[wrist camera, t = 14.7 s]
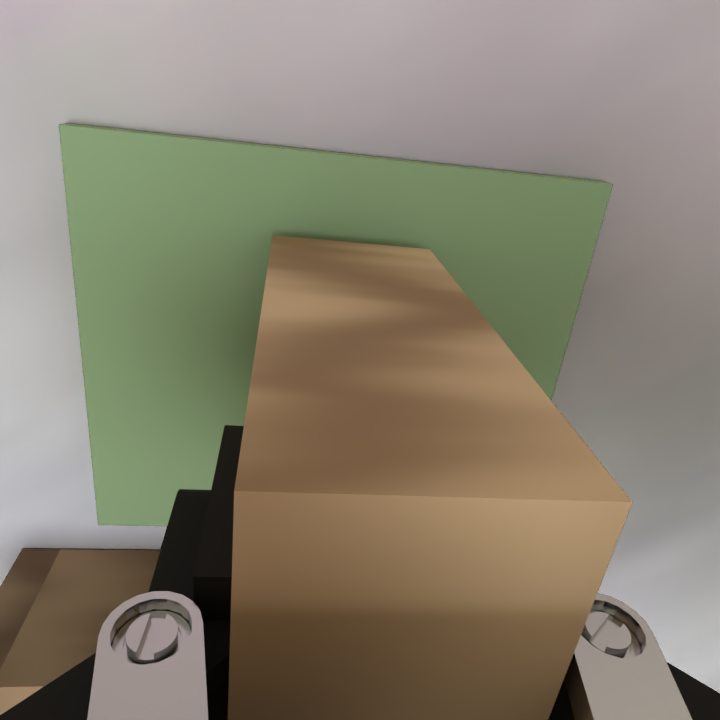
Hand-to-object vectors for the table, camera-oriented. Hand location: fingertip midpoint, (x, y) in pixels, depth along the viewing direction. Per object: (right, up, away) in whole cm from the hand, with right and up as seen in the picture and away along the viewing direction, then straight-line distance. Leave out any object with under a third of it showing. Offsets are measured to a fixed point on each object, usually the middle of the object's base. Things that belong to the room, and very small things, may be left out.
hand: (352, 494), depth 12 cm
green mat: (-1, +3, +6) cm, 6 cm away
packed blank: (0, +2, +4) cm, 5 cm away
